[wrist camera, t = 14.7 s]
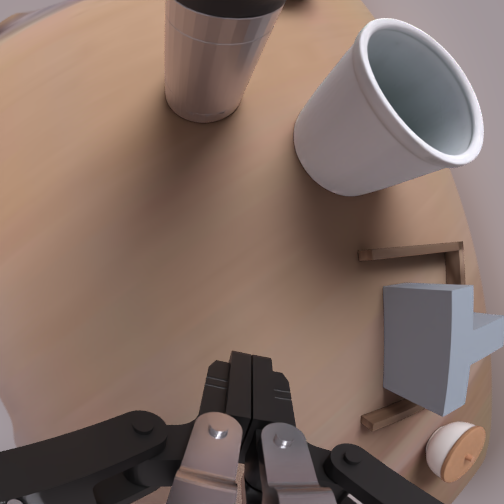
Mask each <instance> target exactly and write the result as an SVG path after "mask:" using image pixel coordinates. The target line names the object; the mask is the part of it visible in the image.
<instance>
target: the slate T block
mask: <svg viewBox="0 0 504 504" xmlns="http://www.w3.org/2000/svg"><path fill="white" fill-rule="evenodd" d="M383 300H384V377H383V387H384V388H386V389H388V390H389V391H391V392H393V393H395V394H397V395H399V396H401V397H403V398H405V399H407V400H409V401H411V402H413V403H415V404H417V405H419V406H422V407H424V408H426V409H428V410H430V411H432V412H434V413H436V414H438V415H440V416H442V417H443V416H445V415H447V414H449V413H450V412H452V411H454V410H456V409H457V408H459V407H461V406H462V405H464V404H465V399H466V393H467V386H468V379H469V370H470V365H471V364H473V363H475V362H477V361H478V360H480V359H482V358H484V357H486V356H487V355H489V354H491V353H492V352H494V351H496V350H497V349H499V348H501V347H502V346H503V342H504V316H503V315H493V314H484V313H475V312H473V285H453V284H424V283H401V284H395V285H389V286H383Z"/></svg>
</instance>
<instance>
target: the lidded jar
mask: <svg viewBox="0 0 504 504" xmlns="http://www.w3.org/2000/svg"><path fill="white" fill-rule="evenodd" d="M484 441H485V430H484V428H482V427H480V426H476V425H474V424H471V423H467V422H453V423H449V424H447V425H445V426H442V427H440V428H438V429H437V430H436V431H435V432H434V433H433V434H432V436H431V437H430V439H429V440H428V442H427V445H426V460H427V464H428V466H429V468H430V469H431V470H432V471H433V472H434V473H435V474H436V475H437V476H438V477H440V478H441V479H442V480H443V481H445V482H447V483H450V482H454V481H456V480H457V479H459V478H460V477H462V476H463V475H464V474H465V473H466V472H467V471H468V470H469V469H470V467H471V466H472V465H473V464H474V462H475V461H476V459H477V458H478V456H479V454H480V452H481V450H482V448H483V445H484Z"/></svg>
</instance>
